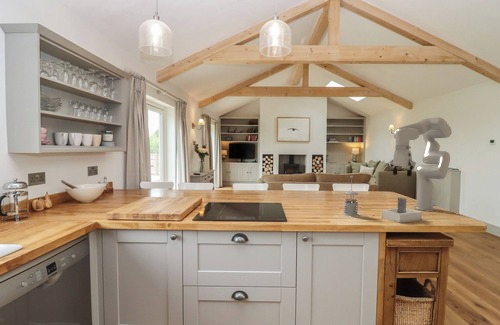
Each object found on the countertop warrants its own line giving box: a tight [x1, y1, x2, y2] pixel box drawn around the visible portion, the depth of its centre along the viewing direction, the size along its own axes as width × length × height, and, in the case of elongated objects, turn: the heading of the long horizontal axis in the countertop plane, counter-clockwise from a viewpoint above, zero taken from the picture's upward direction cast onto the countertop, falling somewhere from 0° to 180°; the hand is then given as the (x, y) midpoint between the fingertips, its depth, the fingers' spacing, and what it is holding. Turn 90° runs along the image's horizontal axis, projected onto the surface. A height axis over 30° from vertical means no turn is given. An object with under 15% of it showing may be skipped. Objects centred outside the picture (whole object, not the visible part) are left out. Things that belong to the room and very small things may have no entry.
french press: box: [342, 175, 360, 218], centre depth 167 cm, size 10×12×25 cm
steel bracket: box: [397, 197, 407, 214], centre depth 157 cm, size 10×4×12 cm, turn 111°
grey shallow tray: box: [381, 207, 423, 224], centre depth 157 cm, size 18×12×5 cm, turn 111°
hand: (402, 175), depth 165 cm, fingers open, 9 cm apart
